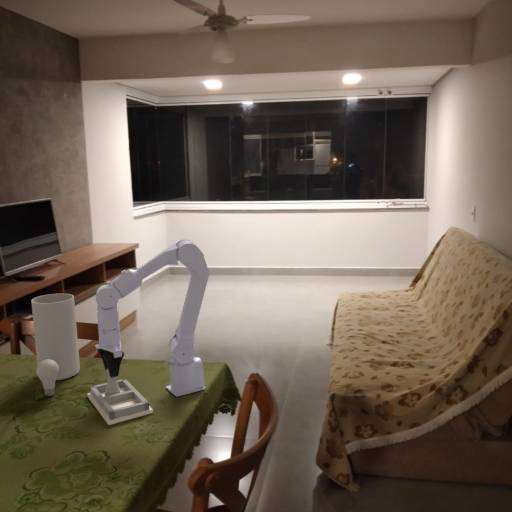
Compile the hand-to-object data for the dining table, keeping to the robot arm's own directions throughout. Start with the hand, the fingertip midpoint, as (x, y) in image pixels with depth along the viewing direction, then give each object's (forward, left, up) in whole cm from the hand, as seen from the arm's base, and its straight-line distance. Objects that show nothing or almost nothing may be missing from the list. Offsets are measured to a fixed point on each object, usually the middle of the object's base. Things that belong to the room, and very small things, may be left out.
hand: (112, 374), depth 150 cm
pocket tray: (0, +5, -7) cm, 9 cm away
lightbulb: (+15, -12, -8) cm, 21 cm away
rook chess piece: (0, 0, -6) cm, 6 cm away
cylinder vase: (+9, -28, -8) cm, 31 cm away
